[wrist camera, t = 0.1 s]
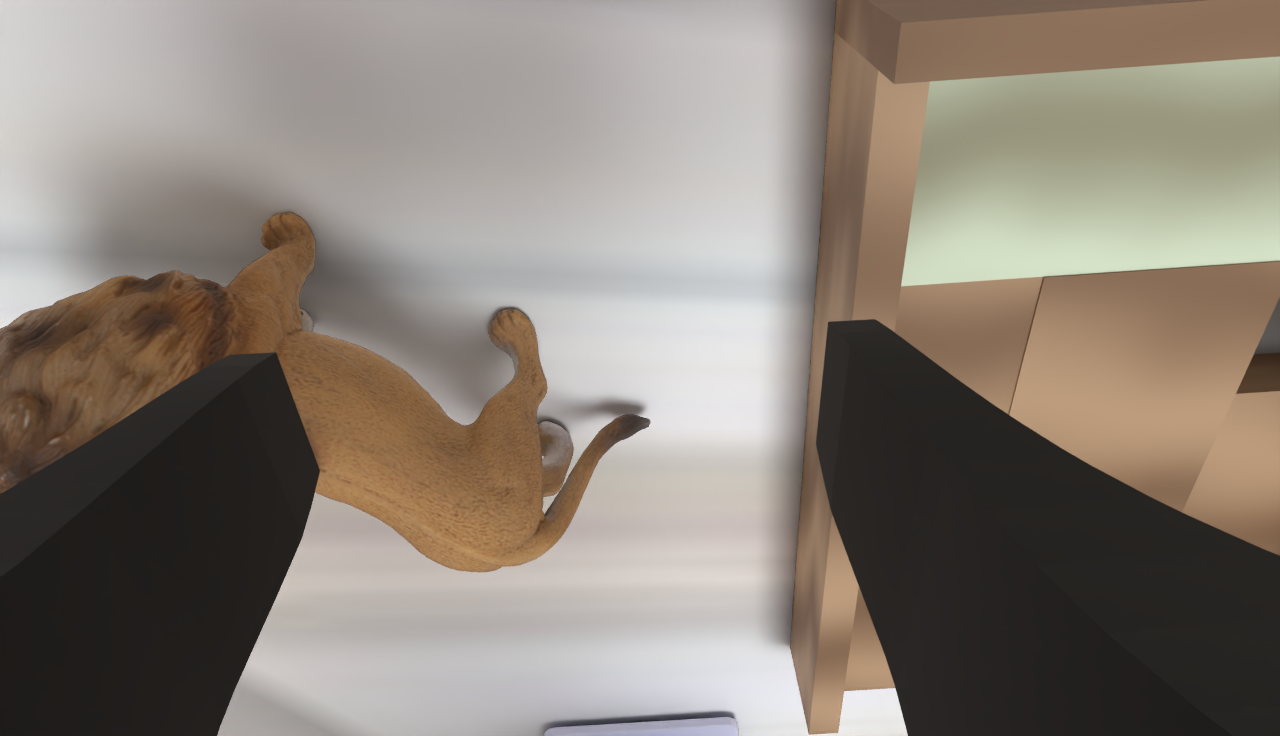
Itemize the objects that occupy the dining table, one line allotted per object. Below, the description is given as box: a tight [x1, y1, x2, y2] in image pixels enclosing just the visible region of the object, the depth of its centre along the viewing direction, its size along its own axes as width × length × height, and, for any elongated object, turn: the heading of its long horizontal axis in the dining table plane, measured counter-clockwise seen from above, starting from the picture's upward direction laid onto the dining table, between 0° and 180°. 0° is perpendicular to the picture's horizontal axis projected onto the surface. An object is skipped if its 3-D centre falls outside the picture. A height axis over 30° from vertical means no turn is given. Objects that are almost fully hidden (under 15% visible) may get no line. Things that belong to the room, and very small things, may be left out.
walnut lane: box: [790, 0, 1280, 734], centre depth 21 cm, size 23×16×4 cm
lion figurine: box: [0, 212, 650, 572], centre depth 18 cm, size 15×5×9 cm, turn 68°
